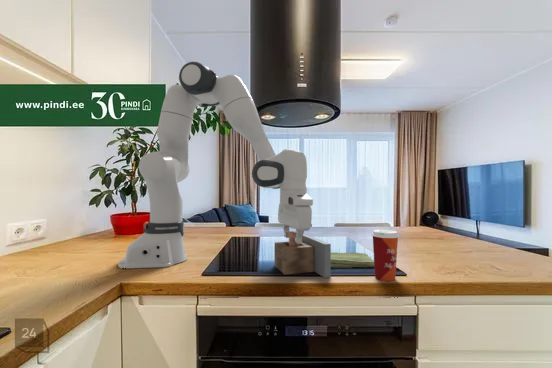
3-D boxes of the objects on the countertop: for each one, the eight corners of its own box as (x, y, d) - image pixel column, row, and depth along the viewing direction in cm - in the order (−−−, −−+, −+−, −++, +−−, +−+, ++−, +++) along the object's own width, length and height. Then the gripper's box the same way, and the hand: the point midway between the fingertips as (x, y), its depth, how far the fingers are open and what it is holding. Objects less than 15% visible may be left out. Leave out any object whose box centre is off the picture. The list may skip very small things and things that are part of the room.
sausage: (291, 270, 94) (291, 233, 94) (287, 267, 97) (287, 231, 97) (301, 269, 95) (301, 232, 95) (297, 266, 99) (297, 231, 99)
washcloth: (378, 269, 97) (378, 260, 97) (325, 269, 97) (325, 259, 97) (366, 259, 110) (366, 250, 110) (319, 259, 110) (319, 250, 110)
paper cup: (394, 284, 81) (395, 234, 81) (367, 278, 86) (367, 231, 86) (402, 277, 87) (402, 230, 87) (376, 272, 92) (376, 228, 92)
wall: (324, 277, 87) (324, 244, 87) (293, 258, 109) (293, 231, 109) (330, 277, 87) (330, 243, 87) (298, 257, 110) (298, 231, 110)
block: (284, 274, 90) (284, 248, 90) (274, 265, 99) (274, 242, 99) (313, 271, 93) (314, 246, 93) (301, 263, 102) (301, 240, 102)
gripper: (274, 196, 105) (273, 235, 105) (296, 200, 86) (295, 247, 86) (290, 196, 107) (289, 234, 107) (315, 200, 88) (314, 246, 88)
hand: (292, 240), depth 96 cm, fingers open, 8 cm apart
